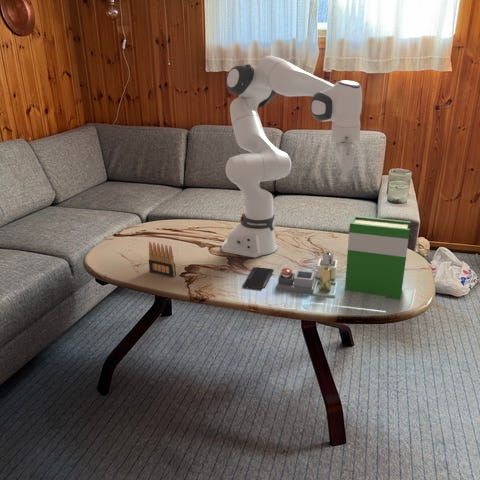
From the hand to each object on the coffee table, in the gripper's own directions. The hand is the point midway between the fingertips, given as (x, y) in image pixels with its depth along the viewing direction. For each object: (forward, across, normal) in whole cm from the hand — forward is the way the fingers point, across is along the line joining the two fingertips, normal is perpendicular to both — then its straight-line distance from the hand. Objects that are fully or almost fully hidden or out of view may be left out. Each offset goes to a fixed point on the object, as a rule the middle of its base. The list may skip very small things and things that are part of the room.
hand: (342, 176), depth 152 cm
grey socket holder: (+35, -13, +14) cm, 40 cm away
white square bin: (+35, -3, +4) cm, 35 cm away
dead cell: (+35, -3, +4) cm, 35 cm away
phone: (+36, -7, +28) cm, 46 cm away
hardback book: (+35, -13, -11) cm, 39 cm away
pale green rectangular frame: (+35, -14, +5) cm, 38 cm away
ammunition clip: (+35, -5, +63) cm, 72 cm away
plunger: (+32, -12, +18) cm, 39 cm away
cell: (+35, -14, +5) cm, 38 cm away
